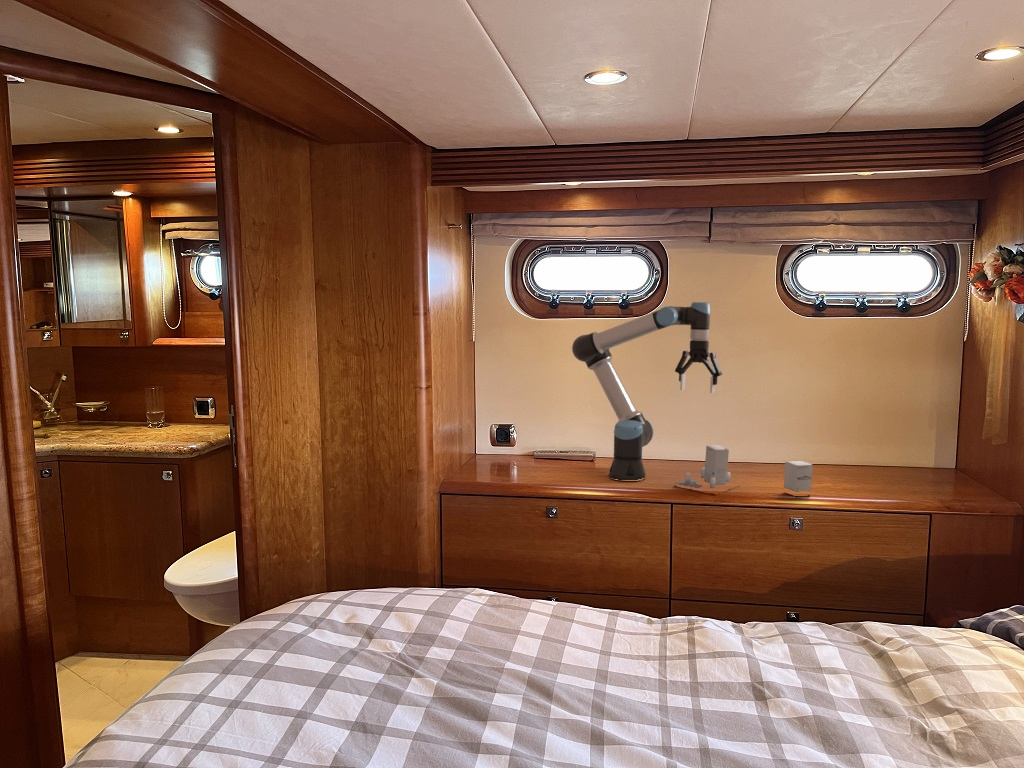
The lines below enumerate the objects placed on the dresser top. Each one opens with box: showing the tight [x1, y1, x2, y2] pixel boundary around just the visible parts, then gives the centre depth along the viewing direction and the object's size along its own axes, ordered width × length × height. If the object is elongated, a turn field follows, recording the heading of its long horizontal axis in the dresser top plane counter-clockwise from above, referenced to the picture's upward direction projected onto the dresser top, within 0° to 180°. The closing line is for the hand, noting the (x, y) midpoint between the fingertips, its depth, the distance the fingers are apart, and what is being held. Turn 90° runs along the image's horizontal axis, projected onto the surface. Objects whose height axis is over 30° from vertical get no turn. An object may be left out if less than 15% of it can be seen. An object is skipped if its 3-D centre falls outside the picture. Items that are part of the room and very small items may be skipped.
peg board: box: [674, 467, 731, 488], centre depth 298 cm, size 18×20×6 cm
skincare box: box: [704, 444, 730, 485], centre depth 297 cm, size 8×6×15 cm
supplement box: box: [783, 460, 814, 492], centre depth 287 cm, size 7×7×13 cm
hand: (697, 391), depth 308 cm, fingers open, 13 cm apart
